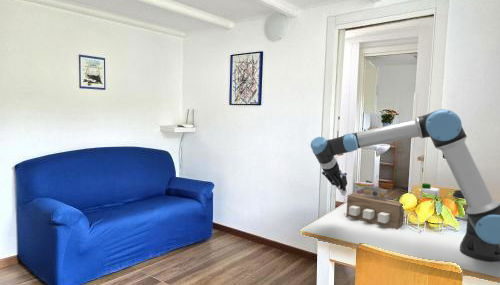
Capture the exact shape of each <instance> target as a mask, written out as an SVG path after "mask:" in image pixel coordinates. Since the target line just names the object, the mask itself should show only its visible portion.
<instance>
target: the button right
mask: <svg viewBox="0 0 500 285" xmlns="http://www.w3.org/2000/svg"><path fill="white" fill-rule="evenodd" d="M389 221H390V213H387V212H381V213H379V214H378V222H382V223H387V222H389Z"/></svg>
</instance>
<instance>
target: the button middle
mask: <svg viewBox="0 0 500 285" xmlns="http://www.w3.org/2000/svg"><path fill="white" fill-rule="evenodd" d="M363 218H366V219H372V218H375V210H374V209H370V208H368V209H365V210H363Z"/></svg>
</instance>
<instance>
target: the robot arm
mask: <svg viewBox="0 0 500 285" xmlns="http://www.w3.org/2000/svg"><path fill="white" fill-rule="evenodd" d="M418 137H419V138H420V139H425V138H427V139H428V138H430V139H431V142H432V144H433V146H434V148H435V149H437V150H439V151H441V152H442V155H443V157H444V159H445V161H446V162H447V166H448V167H449V169H450V171H451V173H452V175H453V178H454V179H455V181H456V184H457V186H458V188H459V190H461V192H462V194H463V196H464V198H465V200H466V203H467V205H468V208H467V210H466V212H467V214H468V218H467V220H466V229H465V230H466V231H465V234H464V236H463V237H462V240H461V241H460V244H459V251H460V252H461V253H462V254H464V255H466V256H468V257H470V258H474V259H478V260H482V261H487V262H499V261H500V202H499V201H498V200H495V199H493V197H492V195H491V193H490V191H489V189H488V187H487V185H486V182H485V181H484V179H483V177H482V174H481V173H480V171H479V168H478V167H477V165H476V162H475V160H474V158H473V157H472V155H471V152H470V149H468V146H467V144H466V139H467V138H468V136H467V134H466V132H465V129H464V128H463V124H462V120H461V118H460V116H459V115H458V114H457V113H456V112H454V111H453V110H450V109H437V110H434V111H432V112H430V113H427V114H423V115H420V116H417V117H415V119H412V120H409V121H404V122H399V123H394V124H391V125H390V124H389V125H384V126H380V127H375V128H371V129H366V130H362V131H356V132H351V133H347V134H343V135H341V136H338V137H334V138H331V139H327V138H326V137H323V136H317V137H315V138H313V139H312V140H311V142H310V148H311V151H312V153H313V155H314V156H315V157H316V159H317V161H318V163H319V165H320V166H321V169H322V173H321V174H322V175H323V176H324V177H325V178H326V179H327V180H328V182H329V183H330V184H331V185H332V186H335V187H336V188H337V190H338V191H339V193H340V195H341V196H342V197H343V196H346V194H347V192H348V191H347V188H346V187H347V185H348V179H347V175H348V173H346V172H344V173H343V172H342V170H341V169H340V166H339V165H340V164H339V163H338V161H337V159H336V156H337V155H343V154H346V153H352V152H354V151H357V150H358V149H361V148H367V147H372V146H378V145H382V144H389V143H393V142H397V141H403V140H407V139H408V140H410V139H414V138H418Z"/></svg>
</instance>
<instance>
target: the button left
mask: <svg viewBox="0 0 500 285" xmlns="http://www.w3.org/2000/svg"><path fill="white" fill-rule="evenodd" d="M349 214H350V215H354V216H357V215H359V214H361V206H357V205H353V206H351V207H349Z"/></svg>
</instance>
